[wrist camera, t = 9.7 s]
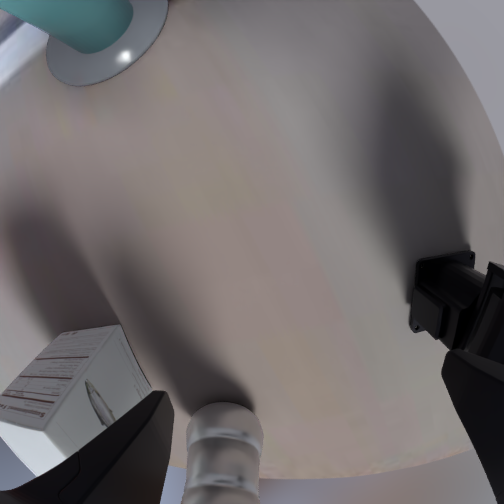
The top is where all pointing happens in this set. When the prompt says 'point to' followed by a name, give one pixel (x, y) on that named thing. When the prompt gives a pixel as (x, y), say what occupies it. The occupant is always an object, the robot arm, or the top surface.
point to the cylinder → (76, 20)
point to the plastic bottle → (223, 455)
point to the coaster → (109, 48)
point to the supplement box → (70, 395)
